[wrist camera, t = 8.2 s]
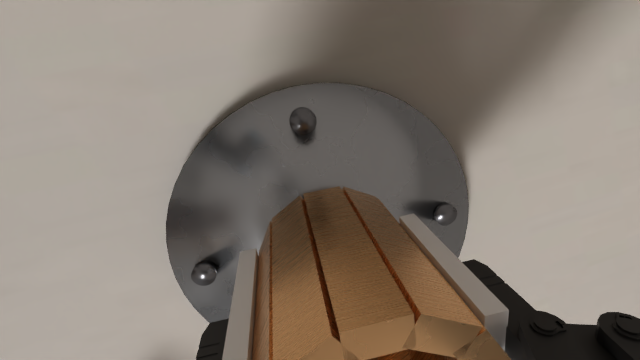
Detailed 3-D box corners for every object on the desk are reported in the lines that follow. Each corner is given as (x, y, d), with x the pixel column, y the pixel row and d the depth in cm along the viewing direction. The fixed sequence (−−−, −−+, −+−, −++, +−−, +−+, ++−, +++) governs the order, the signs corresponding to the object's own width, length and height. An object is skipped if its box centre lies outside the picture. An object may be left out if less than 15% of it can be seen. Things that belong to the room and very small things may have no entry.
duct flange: (115, 123, 14) (19, 157, 8) (458, 51, 15) (561, 43, 10) (223, 375, 19) (206, 488, 14) (464, 309, 21) (530, 391, 15)
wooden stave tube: (277, 323, 16) (282, 534, 9) (245, 205, 14) (216, 362, 6) (403, 293, 17) (507, 468, 10) (394, 174, 15) (524, 286, 7)
